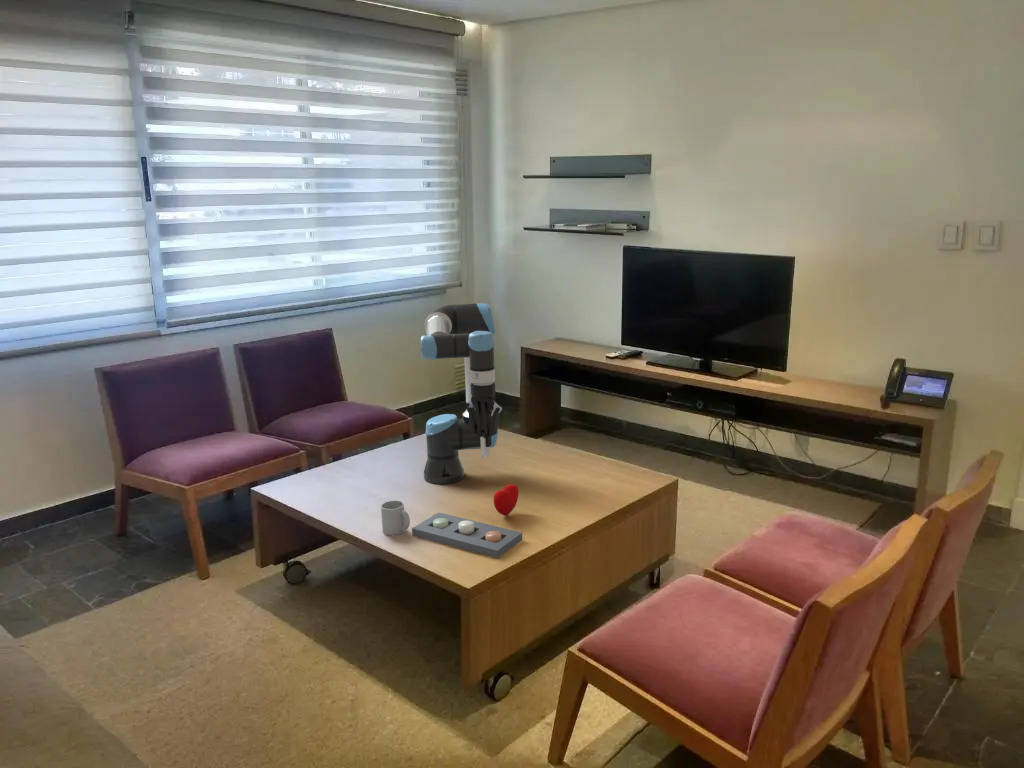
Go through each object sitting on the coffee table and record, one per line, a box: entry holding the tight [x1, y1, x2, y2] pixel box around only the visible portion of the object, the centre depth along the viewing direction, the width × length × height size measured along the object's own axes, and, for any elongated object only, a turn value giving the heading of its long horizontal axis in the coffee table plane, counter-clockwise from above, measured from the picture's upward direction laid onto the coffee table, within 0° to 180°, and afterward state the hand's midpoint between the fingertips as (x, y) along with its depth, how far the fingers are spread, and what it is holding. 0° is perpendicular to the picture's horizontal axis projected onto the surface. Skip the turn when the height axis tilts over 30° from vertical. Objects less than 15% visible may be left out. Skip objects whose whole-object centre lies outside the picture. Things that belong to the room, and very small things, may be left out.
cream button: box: [458, 519, 474, 536], centre depth 246 cm, size 5×5×3 cm
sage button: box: [433, 518, 448, 529], centre depth 252 cm, size 5×5×3 cm
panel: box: [411, 512, 523, 559], centre depth 247 cm, size 32×14×2 cm, turn 58°
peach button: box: [485, 531, 501, 543], centre depth 242 cm, size 5×5×3 cm
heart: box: [492, 483, 520, 517], centre depth 261 cm, size 12×5×10 cm, turn 148°
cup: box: [380, 500, 411, 537], centre depth 252 cm, size 7×10×9 cm
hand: (485, 455), depth 247 cm, fingers closed
